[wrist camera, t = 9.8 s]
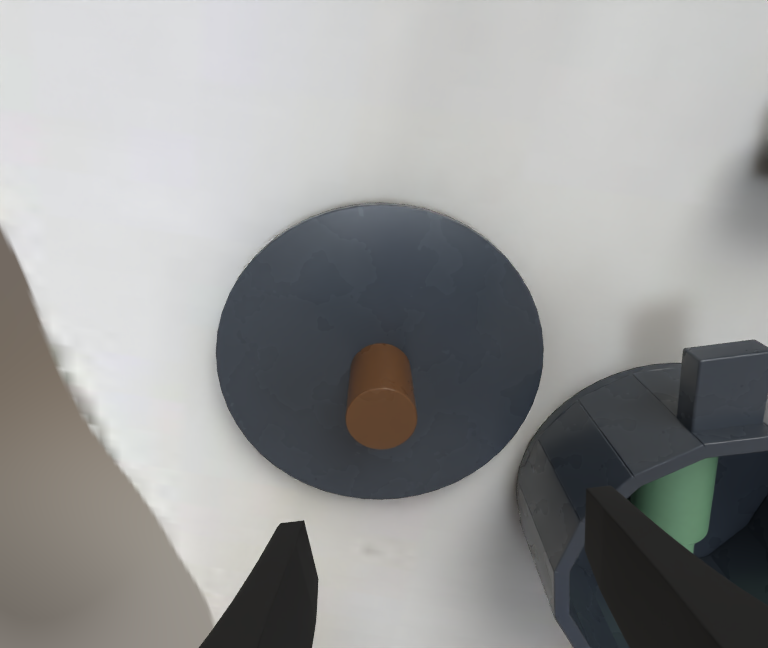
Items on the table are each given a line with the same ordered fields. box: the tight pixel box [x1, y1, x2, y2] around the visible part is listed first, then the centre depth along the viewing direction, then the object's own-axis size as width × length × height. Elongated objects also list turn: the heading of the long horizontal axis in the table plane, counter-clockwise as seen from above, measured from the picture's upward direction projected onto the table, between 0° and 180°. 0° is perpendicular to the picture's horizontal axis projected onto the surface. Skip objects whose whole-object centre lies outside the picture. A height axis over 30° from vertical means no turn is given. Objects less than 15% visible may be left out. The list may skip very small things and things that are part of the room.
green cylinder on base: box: [627, 457, 718, 553], centre depth 22 cm, size 8×4×3 cm, turn 8°
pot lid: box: [216, 203, 544, 499], centre depth 19 cm, size 13×13×5 cm
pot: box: [516, 340, 768, 648], centre depth 21 cm, size 12×18×6 cm
